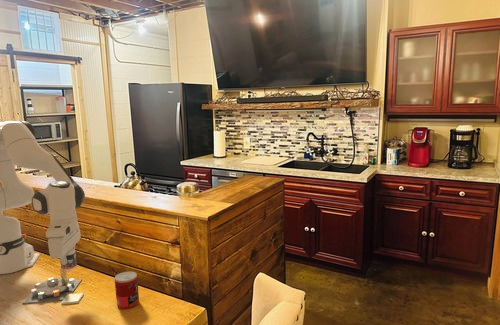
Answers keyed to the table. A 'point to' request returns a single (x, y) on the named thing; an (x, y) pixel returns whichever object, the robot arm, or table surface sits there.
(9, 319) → the table surface
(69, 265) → the pill bottle
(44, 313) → the table surface
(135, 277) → the canned food
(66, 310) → the table surface
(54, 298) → the gray square plate
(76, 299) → the pad
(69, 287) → the sprocket
